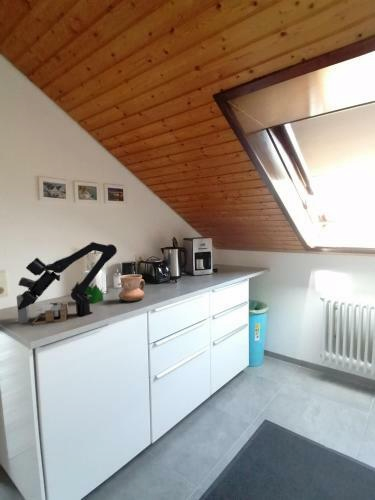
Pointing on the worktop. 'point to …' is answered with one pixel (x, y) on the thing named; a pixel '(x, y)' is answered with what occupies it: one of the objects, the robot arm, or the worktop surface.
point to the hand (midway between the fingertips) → (19, 307)
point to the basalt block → (22, 311)
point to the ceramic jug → (131, 287)
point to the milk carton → (95, 288)
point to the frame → (50, 315)
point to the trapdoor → (49, 308)
